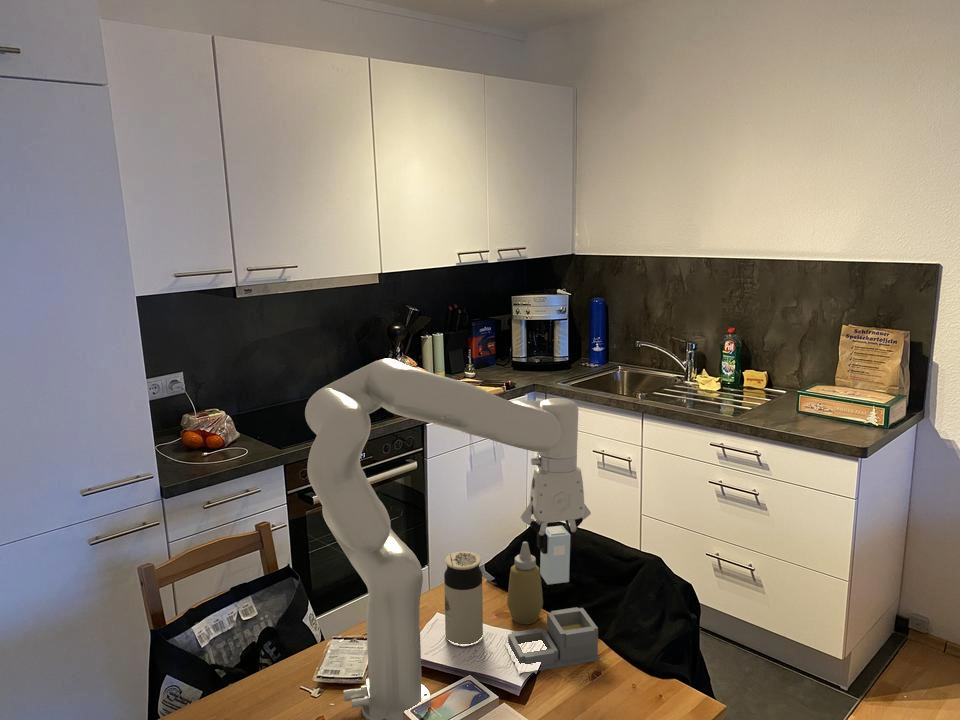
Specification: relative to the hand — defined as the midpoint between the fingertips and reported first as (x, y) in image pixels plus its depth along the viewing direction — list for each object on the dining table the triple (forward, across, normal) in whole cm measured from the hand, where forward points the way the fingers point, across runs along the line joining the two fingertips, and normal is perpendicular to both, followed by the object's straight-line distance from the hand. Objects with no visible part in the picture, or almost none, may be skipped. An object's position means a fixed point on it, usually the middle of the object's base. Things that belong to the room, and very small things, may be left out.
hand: (555, 548), depth 142 cm
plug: (+6, 0, 0) cm, 6 cm away
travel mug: (+23, -16, +10) cm, 30 cm away
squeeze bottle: (+23, -1, +14) cm, 27 cm away
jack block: (+23, 0, 0) cm, 23 cm away
